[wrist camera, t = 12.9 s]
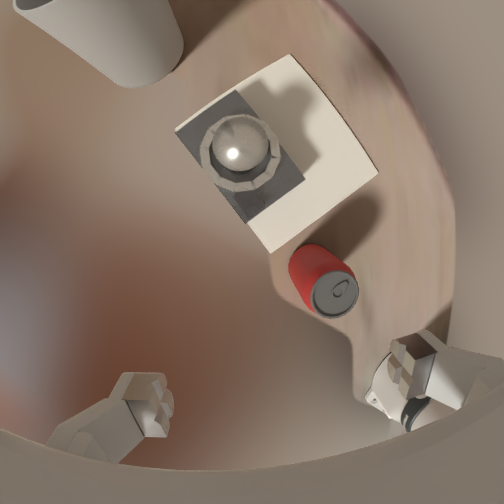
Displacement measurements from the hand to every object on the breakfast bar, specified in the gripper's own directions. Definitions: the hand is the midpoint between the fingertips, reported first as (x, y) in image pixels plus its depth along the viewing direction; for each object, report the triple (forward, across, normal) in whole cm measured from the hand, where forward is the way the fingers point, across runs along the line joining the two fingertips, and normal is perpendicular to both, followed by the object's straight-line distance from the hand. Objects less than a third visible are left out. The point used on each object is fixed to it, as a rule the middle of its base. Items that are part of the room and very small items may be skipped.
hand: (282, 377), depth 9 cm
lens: (+26, 0, -10) cm, 28 cm away
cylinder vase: (+31, +12, -30) cm, 45 cm away
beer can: (+31, -8, +6) cm, 33 cm away
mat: (+31, -6, -11) cm, 34 cm away
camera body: (+31, 0, -10) cm, 32 cm away
